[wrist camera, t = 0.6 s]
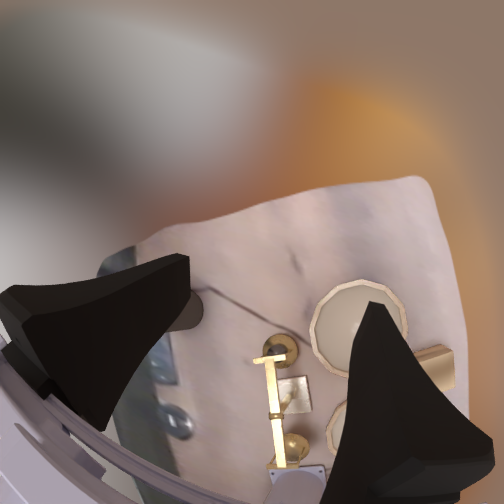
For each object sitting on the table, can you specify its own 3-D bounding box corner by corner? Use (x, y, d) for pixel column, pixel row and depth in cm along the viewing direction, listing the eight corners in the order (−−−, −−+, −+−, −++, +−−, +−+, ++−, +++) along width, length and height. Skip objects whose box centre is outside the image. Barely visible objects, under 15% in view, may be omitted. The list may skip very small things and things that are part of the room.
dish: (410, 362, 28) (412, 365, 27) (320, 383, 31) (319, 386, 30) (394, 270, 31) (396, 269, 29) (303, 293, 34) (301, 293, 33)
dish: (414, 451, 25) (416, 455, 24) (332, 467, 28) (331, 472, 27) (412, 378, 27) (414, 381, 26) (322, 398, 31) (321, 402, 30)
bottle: (205, 291, 39) (130, 285, 25) (202, 331, 38) (127, 344, 24) (172, 287, 41) (95, 280, 27) (169, 325, 40) (92, 332, 26)
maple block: (442, 376, 26) (455, 387, 21) (411, 386, 27) (420, 399, 23) (440, 344, 27) (453, 350, 22) (408, 354, 28) (417, 363, 24)
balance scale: (317, 446, 30) (306, 480, 22) (282, 448, 31) (263, 481, 23) (297, 330, 34) (281, 340, 26) (260, 336, 35) (234, 347, 27)
